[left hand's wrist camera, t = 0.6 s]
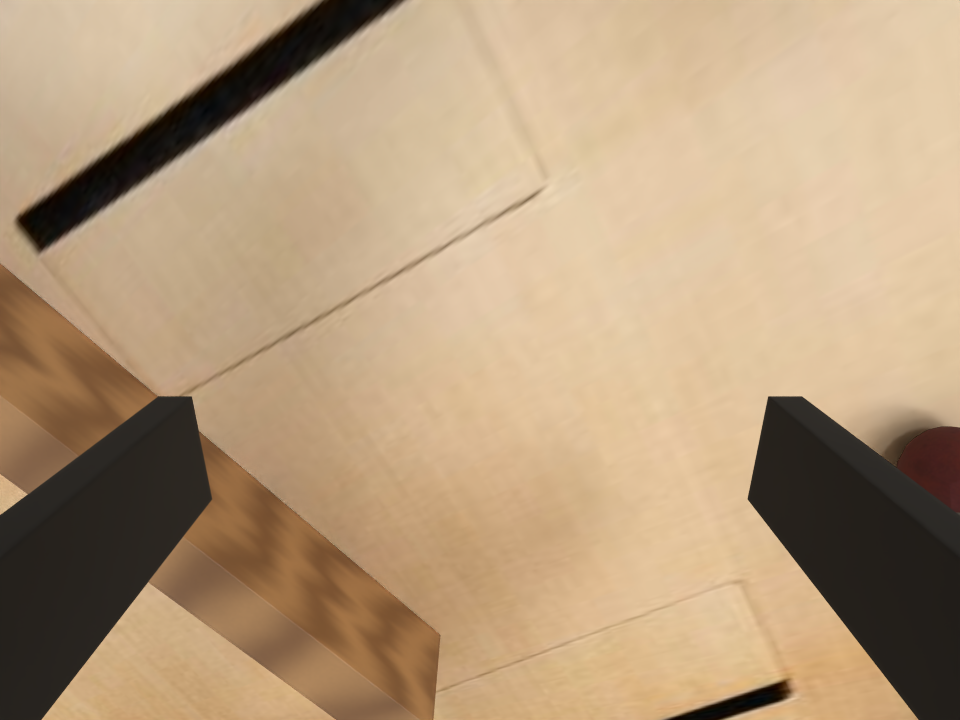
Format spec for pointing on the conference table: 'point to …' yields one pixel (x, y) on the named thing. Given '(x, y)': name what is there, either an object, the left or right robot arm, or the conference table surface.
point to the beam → (219, 533)
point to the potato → (935, 463)
